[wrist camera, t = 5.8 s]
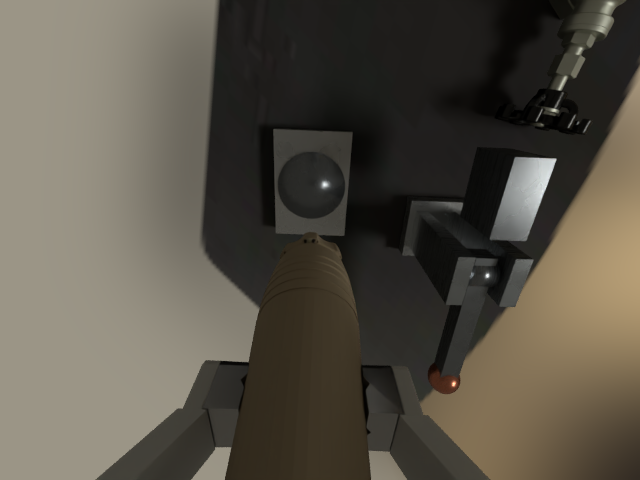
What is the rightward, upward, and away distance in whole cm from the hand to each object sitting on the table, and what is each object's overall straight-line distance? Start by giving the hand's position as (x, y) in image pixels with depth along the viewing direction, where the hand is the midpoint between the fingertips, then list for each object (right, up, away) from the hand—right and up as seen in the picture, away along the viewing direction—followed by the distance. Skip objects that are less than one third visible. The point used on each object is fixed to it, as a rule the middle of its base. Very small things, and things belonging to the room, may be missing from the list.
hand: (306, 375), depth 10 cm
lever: (+12, +1, +15) cm, 20 cm away
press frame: (+6, +9, +20) cm, 23 cm away
